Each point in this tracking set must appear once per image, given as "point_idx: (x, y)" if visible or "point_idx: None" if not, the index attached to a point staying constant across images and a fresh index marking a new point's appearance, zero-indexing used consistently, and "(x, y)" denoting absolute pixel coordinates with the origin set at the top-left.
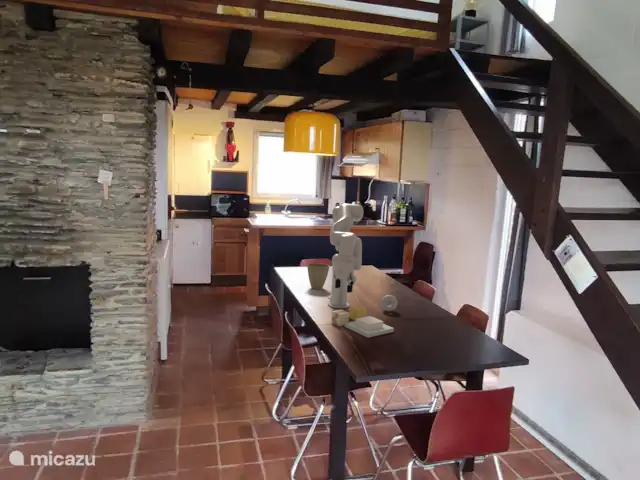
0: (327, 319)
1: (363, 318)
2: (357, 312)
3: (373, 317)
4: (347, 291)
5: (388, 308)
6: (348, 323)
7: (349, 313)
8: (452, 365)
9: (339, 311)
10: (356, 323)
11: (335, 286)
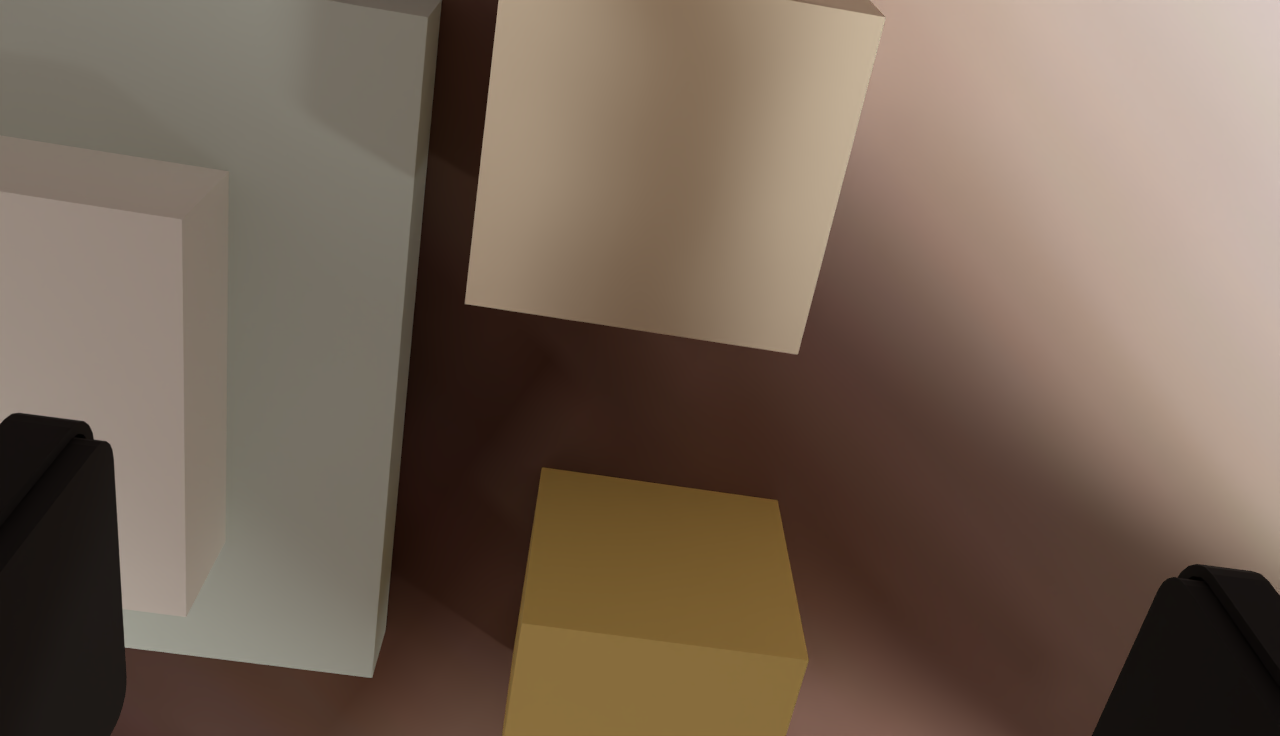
0: (1037, 59)
1: (101, 373)
2: (526, 585)
3: None
4: (5, 437)
5: None
6: (350, 66)
7: (783, 555)
8: None
9: (719, 174)
10: (186, 172)
11: (1261, 615)
